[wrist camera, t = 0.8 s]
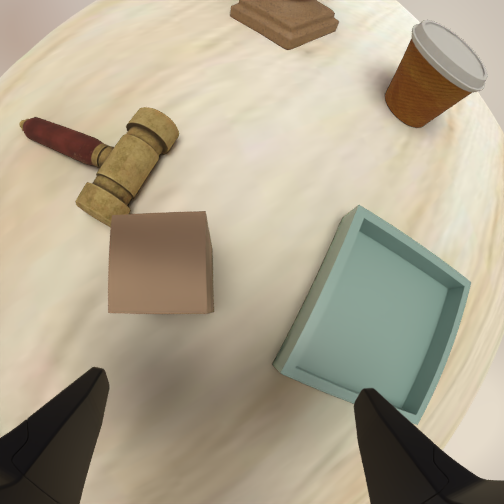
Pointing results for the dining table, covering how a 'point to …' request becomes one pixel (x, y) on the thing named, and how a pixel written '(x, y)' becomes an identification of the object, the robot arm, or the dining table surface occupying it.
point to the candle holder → (286, 20)
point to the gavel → (110, 158)
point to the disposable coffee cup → (433, 74)
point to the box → (376, 317)
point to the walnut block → (160, 264)
